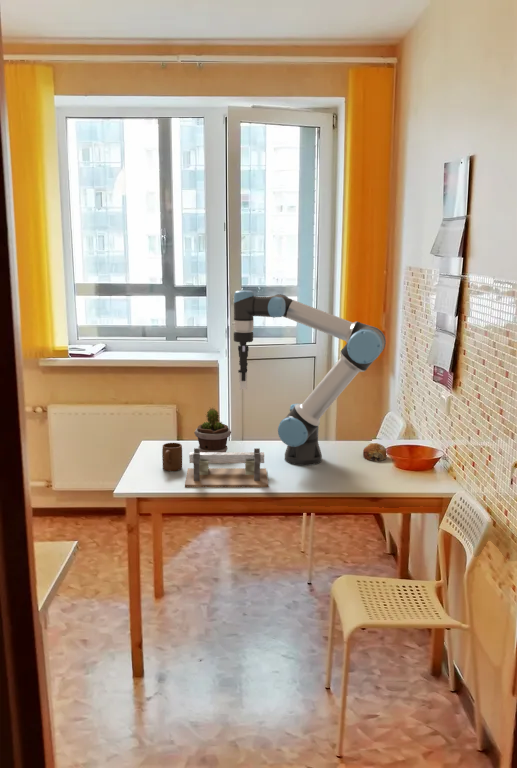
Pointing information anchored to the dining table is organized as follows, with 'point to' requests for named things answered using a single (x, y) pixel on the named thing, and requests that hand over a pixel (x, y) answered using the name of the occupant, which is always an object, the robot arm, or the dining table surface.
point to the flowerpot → (212, 433)
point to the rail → (227, 457)
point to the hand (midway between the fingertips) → (242, 385)
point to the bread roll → (374, 452)
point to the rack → (226, 474)
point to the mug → (172, 456)
